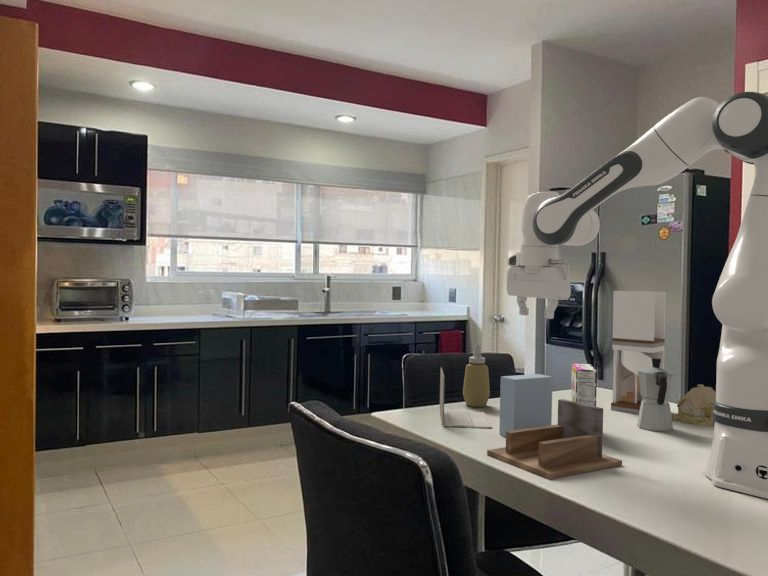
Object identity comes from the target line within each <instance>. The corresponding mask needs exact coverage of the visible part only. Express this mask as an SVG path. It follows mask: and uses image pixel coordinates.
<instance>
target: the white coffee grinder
mask: <svg viewBox="0 0 768 576" xmlns="http://www.w3.org/2000/svg"><path fill="white" fill-rule="evenodd" d="M666 296H667V292H666V291H646V290H645V291H639V290H638V291H637V290H613V296H612V297H613V299H612V300H613V302H612V303H613V305H612V341H611V342H612V346H611V347H612V350H613V364H612V365H613V368H612V369H613V370H612V371H613V372H612V402H611V403H610V410H611V411H615V410H616V411H617V412H622V411H623V413H630V414H635V413H636V414H635V415H637V414H638V415H639V411H640V406H641V401H642V400H643V397H642V396H641V394H640V385H639V376H638V371H639V370H642V369H647V368H651V367H653V365H652V359H651V358H659V359H661V362H660V367H659V368H662V369H665V348H666V347H665V345H666V344H665V343H666V341H665V340H666V304H667V303H666V302H667V301H666V300H667V298H666ZM616 411H615V412H616Z"/></svg>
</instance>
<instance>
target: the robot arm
mask: <svg viewBox="0 0 768 576" xmlns="http://www.w3.org/2000/svg"><path fill="white" fill-rule="evenodd" d="M713 150H723V151H724V152H726V153H727V154H729V155H731V156H733V157H735V158H736V159H738V160H740V161H742V162H743V163H745V164H748V165H752V166H753V165H754V167H755V168H754V169H755V176H754V181H753V184H752V188H751V190H750V194H749V197H748V200H747V203H746V207H745V210H744V213H743V216H742V219H741V222H740V226H739V229H738V233H737V235H736V238H735V241H734V243H733V246H732V248H731V250H730V251H729V254H728V256H727V259H726V261H725V264H724V266H723V269H722V272H721V274H720V276H719V278H718V279H719V280H718V282H717V284H716V287H715V291H714V293H713V295H712V300H711V305H712V310H713V313H714V315H715V317H716V319H717V320H718V321H719V322H720V323H721V325H722V327H721V335H720V342H719V349H718V353H717V358H716V380H715V381H716V384H715V392H716V401H714V402H713V425H712V427H713V433H712V434H713V435H712V436H713V437H712V443H711V449H710V453H709V456H708V461H707V464H706V466H705V469H704V472H703V474H704V475H705V476H706V477H707V478H709V479H710V480H711V483H712V485H714V486H715V487H719V488H723V489H727V490H731V491H734V492H740V493H743V494H746V495H751V496H755V497H759V498H762V499H767V500H768V95H767V94H764V93H761V92H758V91H757V92H756V91H743V92H738V93H735V94H733V95H731V96H729V97H727V98H726V99H725V100H723V101H722V102H721V104H720V103H719V102H717V101H715V100H714V99H712V98H709V97H706V96H698V97H695V98H692V99H691V100H689V101H687V102H686V103H684V104H682V105H680V106H679V107H678V108H676V109H674V110H673V111H672V112H670V113H668V114H667V115H666V116H665V117H663V118H662V119H661V120H659V121H658V122H656V124H654V125H653V126H652V127H650V129H648V130H647V131H646V132H645V133H644V134H643V135H641V136H640V137H639V138H638V139H636V141H634V142H633V143H632V144H631V145H629V146H628V147H627V148H625V149H624V150H622V151H621V152H620V153H618V154H617V155H616V156H614V157H613V158H611V159H609V160H608V161H606V162H605V163H603V164H602V165H601V166H600V167H598V168H596V169H595V170H594V171H593V172H591V173H590V174H588V176H585V178H583V179H582V180H581V181H579V182H577V184H575V185H574V186H573V187H571V188H570V189H568V190H567V191H565V192H564V193H562V194H559V192H557V191H555V190H541V191H537V192H533V193H531V194H529V195H528V196H527V197H526V198H525V200H524V204H523V208H522V214H521V215H522V216H521V232H522V240H521V243H520V250H519V251H518V252H515V254H513V255H511V256H509V257H508V258H507V260H506V264H507V266H508V269H507V273H506V292H507V295H508V296H513V297H516V303H517V305H518V309H519V311H518V313H519V315H520V316H528V315H529V311H530V310H529V309H530V308H528V307H527V303H526V302H527V301H528V298H535V299H546V303H547V308H546V310H543V318H544V319H549V320H553V319H555V318H554V317H555V311H556V309H557V307H558V305H559V301H564V300H565V301H568V300H569V299H570V297H571V295H572V287H571V286H572V284H571V274H570V271H569V269H570V268H569V266H570V265H569V264H568V263H567V262H566V261H565V259H559V258H558V257H559V245H562V246H570V247H583V246H586V245H589V244H591V243H592V242H594V241H595V240H596V239H597V237H598V235H599V233H600V230H601V221H600V220H601V219H600V217H599V214H598V213H597V212H596V211H595V210H594V209H596V208H597V207H599V206H600V205H601V204H603V203H604V202H605V201H607V200H609V198H611V197H613V196H614V195H616V194H617V193H620V192H622V191H624V190H629V189H631V188H639V187H649V186H650V187H651V186H657V185H661V184H664V183H665V182H668V181H669V180H671V179H673V178H676V177H677V176H678V175H680V174H681V173H682V172H684V171H685V170H687V169H688V168H689V167H690V166H691V165H693V164H694V163H696V162H697V161H698V160H699V159H700V158H702V157H703V156H704V155H706V154H708V153H709V152H712V151H713Z"/></svg>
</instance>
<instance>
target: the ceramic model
mask: <svg viewBox="0 0 768 576" xmlns="http://www.w3.org/2000/svg"><path fill="white" fill-rule="evenodd" d="M714 401H716V390H714V389H713V387H711V386H705V385H704V384H701V383H700V384H697V385H696V387H693V388H690V390H688V391H687V393H685V395H684V396H681V398H680V399H678V401H677V404H676V406H677V407H676V408H677V413H676V414H674V415H672V416H671V418H672V420H675V421H680V422H683V423H688V424H692V425H700V426H713V402H714Z"/></svg>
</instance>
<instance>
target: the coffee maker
mask: <svg viewBox="0 0 768 576" xmlns="http://www.w3.org/2000/svg"><path fill="white" fill-rule="evenodd" d="M651 359H652V365H653V367H651V368H647V369H642V370H639V371H638V376H639V385H640V394H641V396H642V397H643V400H642V401H641V406H640V411H639V414H638V417H637V423H636V426H637V427H638V429H641V430H646V431H648V432H649V431H650V432H658V433H659V432H660V433H668V432H673V431H674V426H673V418H672V411H671V405H670V403H669V399H671V397H672V390H673V383H674V380H675V378H674V377H675V372H673V371H670V370H668V369H665V368H664V369H662V368H659V367H660V362H661V359H659V358H651Z"/></svg>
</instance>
